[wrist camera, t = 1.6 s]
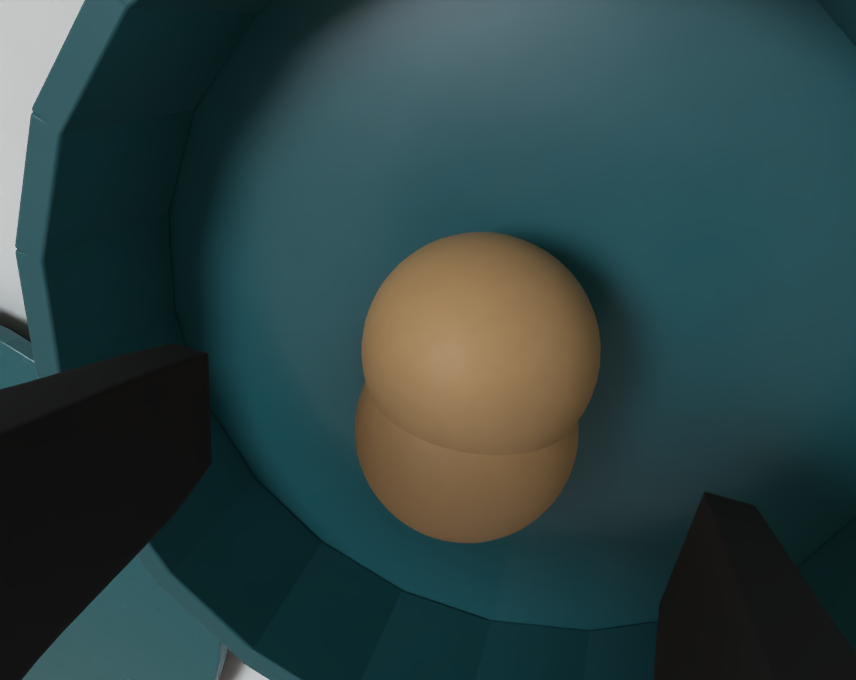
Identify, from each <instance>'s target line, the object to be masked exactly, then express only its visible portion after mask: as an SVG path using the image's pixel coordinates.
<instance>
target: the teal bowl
mask: <svg viewBox="0 0 856 680" xmlns="http://www.w3.org/2000/svg"><path fill="white" fill-rule="evenodd" d="M32 110H33V113H32V114H31V119H30V127H29V136H28V144H27V152H26V161H25V169H24V177H23V186H22V194H21V202H20V211H19V219H18V227H17V236H16V244H15V246H16V248H17V250H16V258H17V264H18V270H19V276H20V281H21V287H22V293H23V299H24V305H25V311H26V317H27V322H28V328H29V334H30V340H31V346H32V352H33V358H34V363H35V369H36V373H37V374H38V375H39V376H38V379H40V378H43V377H47V376H50V375H54V374H57V373H61V372H64V371H68V370H71V369H75V368H78V367H82V366H85V365H89V364H92V363H96V362H100V361H103V360H107V359H110V358H114V357H117V356H121V355H125V354H129V353H132V352H136V351H140V350H144V349H148V348H153V347H157V346H163V345H168V344H177V345H180V346H184V347H187V348H191V349H195V350H198V351H202V352H205V353H208V359H209V388H210V416H211V445H212V463H211V465H210V466H209V467H208V469H207V470H206V472H205V473H204V475H203V476H202V478H201V479H200V480H199V482H198V483H197V485H196V486H195V488H194V489H193V491H192V492H191V493H190V495H189V496H188V497H187V499H186V500H185V501H184V503H183V504H182V505H181V507H180V508H179V509H178V510H177V512H176V513H175V514H174V516H173V517H172V518H171V519H170V520H169V521H168V522H167V523H166V524H165V526H164V527H163V528H162V529H161V530H160V531H159V532H158V533H157V534H156V535H155V536H154V537H153V538H152V539H151V540H150V542H149V543H148V544H147V545H146V546H145V547H144V548H143V549H142V550H141V551H140V552H139V553H138V554H137V555H136V556H137V558H138V559H139V560H140V562H141V563H142V564H143V566H144V567H145V569H146V570H147V571H148V573H149V574H150V575H151V577H152V578H153V580H155V581H157V584H158V585H159V586H160V587H161V588H162V589H163V590H164V591H165V592H167V593H168V594H169V595H170V596H171V597H172V598H173V599H174V600H175V601H176V602H177V603H178V604H180V605H181V606H182V607H183V608H184V609H185V610H186V611H187V612H188V613H189V614H190V615H192V616H193V617H194V618H195V619H196V620H197V621H198V622H199V623H200V624H201V625H202V626H203V627H205V628H206V629H207V630H208V631H209V632H210V633H211V634H212V635H213V636H214V637H215V638H216V639H218V640H219V641H220V642H221V643H222V644H223V645H224V646H225V647H226V648H227V649H228V650H230V651H231V652H232V653H233V654H234V655H235V656H236V657H237V658H238V659H239V660H243V663H244V664H245V665H247V666H249V667H250V668H252V669H253V670H255V671H257V672H258V673H260V674H261V675H263V676H265V677H266V678H268V679H269V680H653V677H654V663H655V648H656V636H657V625H658V613H659V603H660V601H661V598H662V596H663V593H664V591H665V588H666V586H667V583H668V581H669V578H670V576H671V573H672V571H673V568H674V566H675V563H676V561H677V558H678V556H679V553H680V551H681V548H682V546H683V543H684V541H685V538H686V536H687V533H688V531H689V528H690V526H691V523H692V521H693V518H694V516H695V513H696V511H697V508H698V506H699V503H700V501H701V498H702V496H703V493H704V491H705V492H709V493H713V494H716V495H720V496H723V497H727V498H730V499H734V500H738V501H741V502H745V503H748V504H752V505H755V506H756V508H757V509H758V511H759V512H760V514H761V515H762V516H763V518H764V519H765V521H766V522H767V524H768V525H769V527H770V528H771V530H772V531H773V533H774V534H775V536H776V537H777V539H778V540H779V542H780V544H781V545H782V547H783V548H784V550H785V551H786V553H787V554H788V556H789V557H790V559H791V560H792V562H793V563H794V565H795V566H796V568H797V569H798V571H799V572H800V574H801V575H802V577H803V578H804V580H805V581H806V583H807V584H808V586H809V587H810V589H811V590H812V591H813V593H814V594H815V596H816V597H817V599H818V600H819V602H820V603H821V605H822V606H823V608H824V609H825V610H826V612H827V613H828V615H829V616H830V618H831V619H832V620H833V622H834V623H835V625H836V626H837V627H838V629H839V630H840V632H841V633H842V635H843V636H844V637H845V639H846V640H847V642H848V643H849V644H850V646H851V647H852V648H853V650H854V651H855V653H856V0H85V1H84V3H83V5H82V7H81V9H80V11H79V14H78V16H77V18H76V20H75V22H74V24H73V26H72V28H71V30H70V32H69V34H68V36H67V38H66V40H65V42H64V44H63V46H62V48H61V50H60V52H59V54H58V56H57V59H56V61H55V63H54V65H53V67H52V69H51V71H50V73H49V75H48V77H47V79H46V81H45V83H44V85H43V87H42V89H41V91H40V93H39V95H38V97H37V99H36V101H35V103H34V106H33V108H32ZM468 232H494V233H501V234H507V235H510V236H514V237H517V238H521V239H523V240H525V241H528V242H530V243H532V244H535V245H536V246H538V247H540V248H542V249H543V250H545V251H547V252H548V253H550V254H551V255H552V256H554V257H555V258H556V259H557V260H559V261H560V262H561V263H562V264H563V265H564V266H565V267H566V268H567V269H568V270H569V271H570V272H571V273H572V274H573V275H574V277H575V278H576V279H577V281H578V282H579V283H580V284H581V286H582V288H583V289H584V291H585V293H586V295H587V296H588V298H589V301H590V303H591V306H592V308H593V310H594V313H595V316H596V320H597V324H598V328H599V334H600V343H601V354H600V369H599V374H598V379H597V383H596V386H595V389H594V391H593V394H592V397H591V400H590V402H589V404H588V406H587V407H586V409H585V411H584V413H583V414H582V416H581V417H580V419H579V420H578V423H579V437H578V448H577V454H576V459H575V462H574V465H573V468H572V471H571V473H570V476H569V479H568V480H567V482H566V484H565V486H564V488H563V489H562V491H561V493H560V494H559V496H558V497H557V499H556V500H555V501H554V502H553V504H552V505H551V506H550V507H549V508H548V509H547V510H546V511H545V512H544V513H543V514H542V515H541V516H540V517H539V518H537V519H536V520H535V521H533V522H532V523H530V524H529V525H527V526H526V527H524V528H523V529H521V530H519V531H517V532H515V533H513V534H511V535H508V536H505V537H502V538H499V539H495V540H492V541H487V542H481V543H456V542H449V541H443V540H439V539H435V538H432V537H429V536H427V535H424V534H422V533H420V532H418V531H416V530H414V529H412V528H410V527H409V526H407V525H406V524H404V523H403V522H401V521H400V520H399V519H397V518H396V517H395V516H394V515H393V514H392V513H391V512H390V511H388V509H387V508H386V507H385V506H384V505H383V504H382V503H381V502H380V500H379V499H378V498H377V496H376V495H375V494H374V492H373V491H372V489H371V488H370V486H369V484H368V482H367V480H366V478H365V475H364V473H363V471H362V468H361V465H360V462H359V459H358V455H357V449H356V442H355V417H356V410H357V404H358V400H359V397H360V394H361V391H362V388H363V386H364V383H365V377H364V372H363V365H362V357H361V351H362V337H363V330H364V324H365V320H366V317H367V314H368V310H369V308H370V306H371V303H372V301H373V299H374V297H375V295H376V293H377V291H378V289H379V288H380V286H381V285H382V284H383V282H384V281H385V279H386V278H387V277H388V275H389V274H390V273H391V272H392V271H393V270H394V269H395V268H396V267H397V266H398V264H399V263H401V262H402V261H403V260H404V259H406V258H407V257H408V256H409V255H411V254H412V253H414V252H415V251H417V250H418V249H420V248H422V247H423V246H425V245H427V244H429V243H431V242H434V241H436V240H439V239H441V238H445V237H448V236H452V235H456V234H460V233H468Z"/></svg>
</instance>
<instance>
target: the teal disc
mask: <svg viewBox="0 0 856 680" xmlns="http://www.w3.org/2000/svg"><path fill="white" fill-rule="evenodd" d="M38 376H39V375H38V374H37V373H36V369H35V363H34V358H33V352H32V346H31V342H29V341H28V340H26V339H25V338H23V337H21V336H20V335H18V334H16V333H15V332H13V331H12V330H10V329H8V328H6V327H4V326H2V325H0V389H3V388H7V387H11V386H15V385H18V384H22V383H26V382H29V381H33V380H36V379H38ZM227 651H228V649H227V648H226V647H225V646H224V645H223V644H222V643H221V642H220V641H219V640H218V639H216V638H215V637H214V636H213V635H212V634H211V633H210V632H209V631H208V630H207V629H206V628H205V627H203V626H202V625H201V624H200V623H199V622H198V621H197V620H196V619H195V618H194V617H193V616H192V615H190V614H189V613H188V612H187V611H186V610H185V609H184V608H183V607H182V606H181V605H180V604H178V603H177V602H176V601H175V600H174V599H173V598H172V597H171V596H170V595H169V594H168V593H167V592H165V591H164V590H163V589H162V588H161V587H160V586H159V585H158V584H157V581H155V580H153V578H152V577H151V575H150V574H149V573H148V571H147V570H146V569H145V567H144V566H143V564H142V563H141V562H140V560H139V559H138V558H137V556H135V557H134V558H133V560H132V561H131V562H130V563H129V564H128V565H127V566H126V567H125V568H124V569H123V570H122V571H121V572H120V573H119V574H118V575H117V576H116V577H115V578H114V579H113V580H112V581H111V582H110V583H109V584H108V586H107V587H106V588H105V589H104V590H103V591H102V592H101V593H100V594H99V595H98V596H97V597H96V598H95V599H94V600H93V601H92V602H91V603H90V604H89V605H88V606H87V607H86V608H85V609H84V611H83V612H82V613H81V614H80V615H79V616H78V617H77V618H76V619H75V620H74V621H73V622H72V623H71V624H70V625H69V626H68V627H67V628H66V629H65V630H64V631H63V632H62V633H61V635H60V636H59V637H58V638H57V639H56V640H55V641H54V642H53V644H52V645H51V646H50V647H49V648H48V649H47V650H46V651H45V653H44V654H43V655H42V656H41V657H40V658H39V659H38V660H37V662H36V663H35V664H34V665H33V667H32V668H31V669H30V670H29V672H28V673H27V674H26V675H25V677H24V678H23V679H22V680H218V679H219V677H220V675H221V673H222V670H223V666H224V662H225V659H226V655H227Z"/></svg>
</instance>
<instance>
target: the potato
mask: <svg viewBox="0 0 856 680" xmlns="http://www.w3.org/2000/svg"><path fill="white" fill-rule="evenodd" d="M600 354H601V343H600V334H599V328H598V324H597V320H596V316H595V313H594V310H593V308H592V306H591V303H590V301H589V298H588V296H587V295H586V293H585V291H584V289H583V288H582V286H581V284H580V283H579V282H578V281H577V279H576V278H575V277H574V275H573V274H572V273H571V272H570V271H569V270H568V269H567V268H566V267H565V266H564V265H563V264H562V263H561V262H560V261H559V260H557V259H556V258H555V257H554V256H552V255H551V254H550V253H548V252H547V251H545V250H543V249H542V248H540V247H538V246H536V245H535V244H532V243H530V242H528V241H525V240H523V239H521V238H517V237H514V236H510V235H507V234H501V233H494V232H468V233H460V234H456V235H452V236H448V237H445V238H441V239H439V240H436V241H434V242H431V243H429V244H427V245H425V246H423V247H422V248H420V249H418V250H417V251H415V252H414V253H412V254H411V255H409V256H408V257H407V258H406V259H404V260H403V261H402V262H401V263H399V264H398V266H397V267H396V268H395V269H394V270H393V271H392V272H391V273H390V274H389V275H388V277H387V278H386V279H385V281H384V282H383V284H382V285H381V286H380V288H379V289H378V291H377V293H376V295H375V297H374V299H373V301H372V303H371V306H370V308H369V310H368V314H367V317H366V320H365V324H364V330H363V337H362V351H361V357H362V365H363V372H364V377H365V383H364V386H363V388H362V391H361V394H360V397H359V400H358V404H357V410H356V417H355V442H356V449H357V455H358V459H359V462H360V465H361V468H362V471H363V473H364V475H365V478H366V480H367V482H368V484H369V486H370V488H371V489H372V491H373V492H374V494H375V495H376V496H377V498H378V499H379V500H380V502H381V503H382V504H383V505H384V506H385V507H386V508H387V509H388V511H390V512H391V513H392V514H393V515H394V516H395V517H396V518H397V519H399V520H400V521H401V522H403V523H404V524H406V525H407V526H409V527H410V528H412V529H414V530H416V531H418V532H420V533H422V534H424V535H427V536H429V537H432V538H435V539H439V540H443V541H449V542H456V543H481V542H487V541H492V540H495V539H499V538H502V537H505V536H508V535H511V534H513V533H515V532H517V531H519V530H521V529H523V528H524V527H526V526H527V525H529V524H530V523H532V522H533V521H535V520H536V519H537V518H539V517H540V516H541V515H542V514H543V513H544V512H545V511H546V510H547V509H548V508H549V507H550V506H551V505H552V504H553V502H554V501H555V500H556V499H557V497H558V496H559V494H560V493H561V491H562V489H563V488H564V486H565V484H566V482H567V480H568V479H569V476H570V473H571V471H572V468H573V465H574V462H575V459H576V454H577V448H578V437H579V423H578V420H579V419H580V417H581V416H582V414H583V413H584V411H585V409H586V407H587V406H588V404H589V402H590V400H591V397H592V394H593V391H594V389H595V386H596V383H597V379H598V374H599V369H600Z"/></svg>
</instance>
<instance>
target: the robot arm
mask: <svg viewBox="0 0 856 680" xmlns="http://www.w3.org/2000/svg"><path fill="white" fill-rule="evenodd" d="M211 463H212V445H211V416H210V388H209V359H208V353H205V352H202V351H198V350H195V349H191V348H187V347H184V346H180V345H177V344H168V345H163V346H157V347H153V348H148V349H144V350H140V351H136V352H132V353H129V354H125V355H121V356H117V357H114V358H110V359H107V360H103V361H100V362H96V363H92V364H89V365H85V366H82V367H78V368H75V369H71V370H68V371H64V372H61V373H57V374H54V375H50V376H47V377H43V378H40V379H36V380H33V381H29V382H26V383H22V384H18V385H15V386H11V387H7V388H3V389H0V680H22V679H23V678H24V677H25V675H26V674H27V673H28V672H29V670H30V669H31V668H32V667H33V665H34V664H35V663H36V662H37V660H38V659H39V658H40V657H41V656H42V655H43V654H44V653H45V651H46V650H47V649H48V648H49V647H50V646H51V645H52V644H53V642H54V641H55V640H56V639H57V638H58V637H59V636H60V635H61V633H62V632H63V631H64V630H65V629H66V628H67V627H68V626H69V625H70V624H71V623H72V622H73V621H74V620H75V619H76V618H77V617H78V616H79V615H80V614H81V613H82V612H83V611H84V609H85V608H86V607H87V606H88V605H89V604H90V603H91V602H92V601H93V600H94V599H95V598H96V597H97V596H98V595H99V594H100V593H101V592H102V591H103V590H104V589H105V588H106V587H107V586H108V584H109V583H110V582H111V581H112V580H113V579H114V578H115V577H116V576H117V575H118V574H119V573H120V572H121V571H122V570H123V569H124V568H125V567H126V566H127V565H128V564H129V563H130V562H131V561H132V560H133V558H134V557H135V556H136V555H137V554H138V553H139V552H140V551H141V550H142V549H143V548H144V547H145V546H146V545H147V544H148V543H149V542H150V540H151V539H152V538H153V537H154V536H155V535H156V534H157V533H158V532H159V531H160V530H161V529H162V528H163V527H164V526H165V524H166V523H167V522H168V521H169V520H170V519H171V518H172V517H173V516H174V514H175V513H176V512H177V510H178V509H179V508H180V507H181V505H182V504H183V503H184V501H185V500H186V499H187V497H188V496H189V495H190V493H191V492H192V491H193V489H194V488H195V486H196V485H197V483H198V482H199V480H200V479H201V478H202V476H203V475H204V473H205V472H206V470H207V469H208V467H209V466H210V465H211ZM653 680H856V653H855V651H854V650H853V648H852V647H851V646H850V644H849V643H848V642H847V640H846V639H845V637H844V636H843V635H842V633H841V632H840V630H839V629H838V627H837V626H836V625H835V623H834V622H833V620H832V619H831V618H830V616H829V615H828V613H827V612H826V610H825V609H824V608H823V606H822V605H821V603H820V602H819V600H818V599H817V597H816V596H815V594H814V593H813V591H812V590H811V589H810V587H809V586H808V584H807V583H806V581H805V580H804V578H803V577H802V575H801V574H800V572H799V571H798V569H797V568H796V566H795V565H794V563H793V562H792V560H791V559H790V557H789V556H788V554H787V553H786V551H785V550H784V548H783V547H782V545H781V544H780V542H779V540H778V539H777V537H776V536H775V534H774V533H773V531H772V530H771V528H770V527H769V525H768V524H767V522H766V521H765V519H764V518H763V516H762V515H761V514H760V512H759V511H758V509H757V508H756V506H755V505H752V504H748V503H745V502H741V501H738V500H734V499H730V498H727V497H723V496H720V495H716V494H713V493H709V492H705V491H704V493H703V496H702V498H701V501H700V503H699V506H698V508H697V511H696V513H695V516H694V518H693V521H692V523H691V526H690V528H689V531H688V533H687V536H686V538H685V541H684V543H683V546H682V548H681V551H680V553H679V556H678V558H677V561H676V563H675V566H674V568H673V571H672V573H671V576H670V578H669V581H668V583H667V586H666V588H665V591H664V593H663V596H662V598H661V601H660V603H659V613H658V625H657V636H656V648H655V663H654V677H653Z"/></svg>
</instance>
